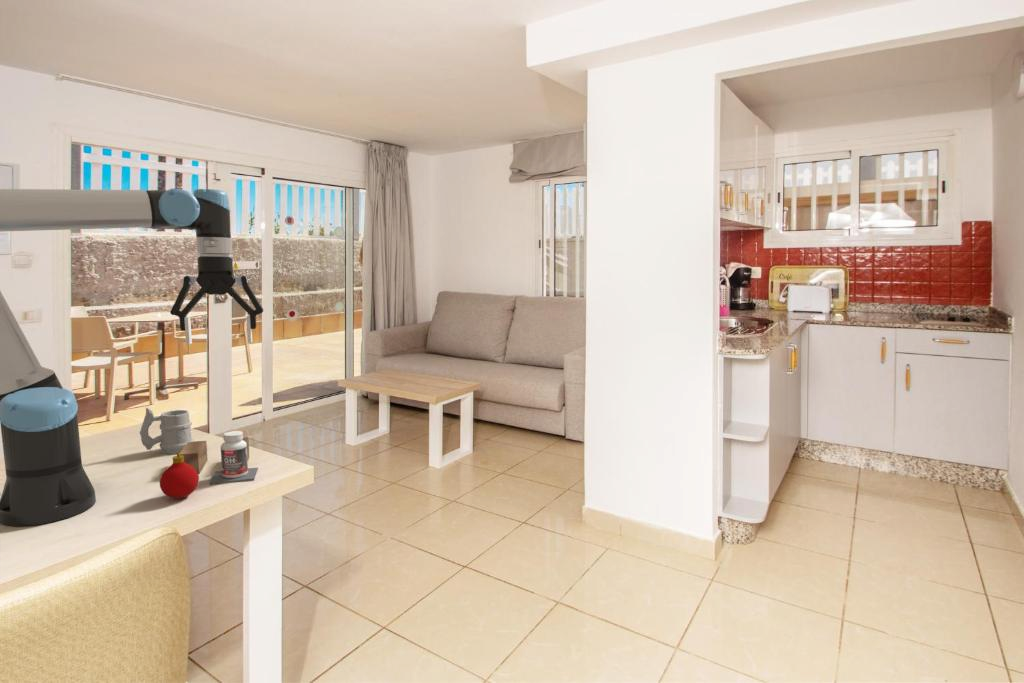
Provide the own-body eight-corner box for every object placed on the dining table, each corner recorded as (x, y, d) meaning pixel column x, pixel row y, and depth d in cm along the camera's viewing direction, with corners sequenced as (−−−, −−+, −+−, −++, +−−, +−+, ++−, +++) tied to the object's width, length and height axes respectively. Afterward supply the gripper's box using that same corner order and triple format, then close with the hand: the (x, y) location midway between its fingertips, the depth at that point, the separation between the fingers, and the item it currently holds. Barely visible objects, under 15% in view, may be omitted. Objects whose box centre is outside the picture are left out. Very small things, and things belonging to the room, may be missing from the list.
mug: (196, 451, 154) (193, 405, 152) (142, 459, 147) (138, 412, 145) (192, 443, 160) (189, 400, 158) (140, 451, 153) (136, 405, 151)
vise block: (179, 475, 136) (178, 454, 135) (189, 461, 145) (188, 441, 145) (244, 470, 140) (243, 449, 139) (249, 456, 149) (248, 437, 148)
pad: (209, 484, 131) (209, 482, 130) (215, 472, 138) (215, 471, 138) (254, 480, 133) (254, 478, 133) (257, 469, 140) (257, 467, 140)
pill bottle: (224, 480, 132) (221, 437, 130) (220, 473, 136) (218, 432, 135) (250, 476, 135) (248, 434, 133) (246, 469, 139) (244, 428, 138)
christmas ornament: (202, 498, 123) (199, 452, 121) (162, 506, 119) (159, 458, 117) (197, 488, 128) (194, 443, 127) (159, 495, 124) (155, 449, 123)
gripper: (151, 255, 136) (158, 347, 138) (269, 256, 143) (273, 343, 146) (160, 255, 143) (166, 342, 146) (271, 256, 150) (275, 339, 153)
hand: (220, 343), depth 146 cm, fingers open, 13 cm apart
